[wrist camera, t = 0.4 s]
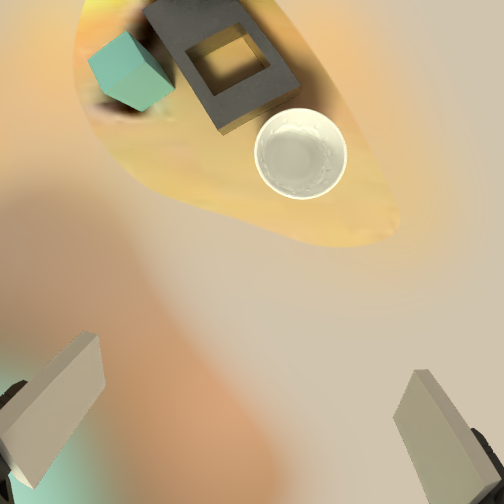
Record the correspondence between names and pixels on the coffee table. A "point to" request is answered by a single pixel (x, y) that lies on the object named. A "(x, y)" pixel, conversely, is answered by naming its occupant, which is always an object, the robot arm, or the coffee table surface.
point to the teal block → (130, 73)
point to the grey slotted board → (211, 38)
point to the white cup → (300, 153)
